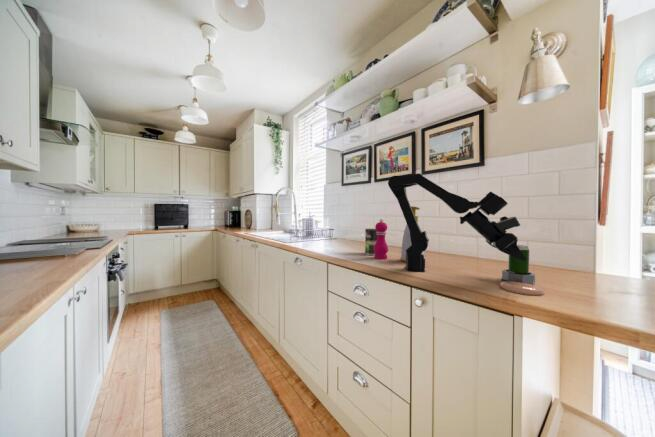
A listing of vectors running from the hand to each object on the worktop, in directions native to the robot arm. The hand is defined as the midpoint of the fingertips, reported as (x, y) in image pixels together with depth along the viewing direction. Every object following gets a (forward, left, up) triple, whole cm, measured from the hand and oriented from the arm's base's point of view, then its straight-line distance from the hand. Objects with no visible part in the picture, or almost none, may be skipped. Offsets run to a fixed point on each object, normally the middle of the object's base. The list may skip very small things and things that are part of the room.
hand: (520, 257), depth 78 cm
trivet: (-7, -10, -8) cm, 14 cm away
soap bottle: (-28, +30, -8) cm, 42 cm away
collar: (-1, 0, -8) cm, 8 cm away
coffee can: (-44, +48, -8) cm, 65 cm away
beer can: (-1, 0, -8) cm, 8 cm away
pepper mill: (-42, +36, -8) cm, 56 cm away
